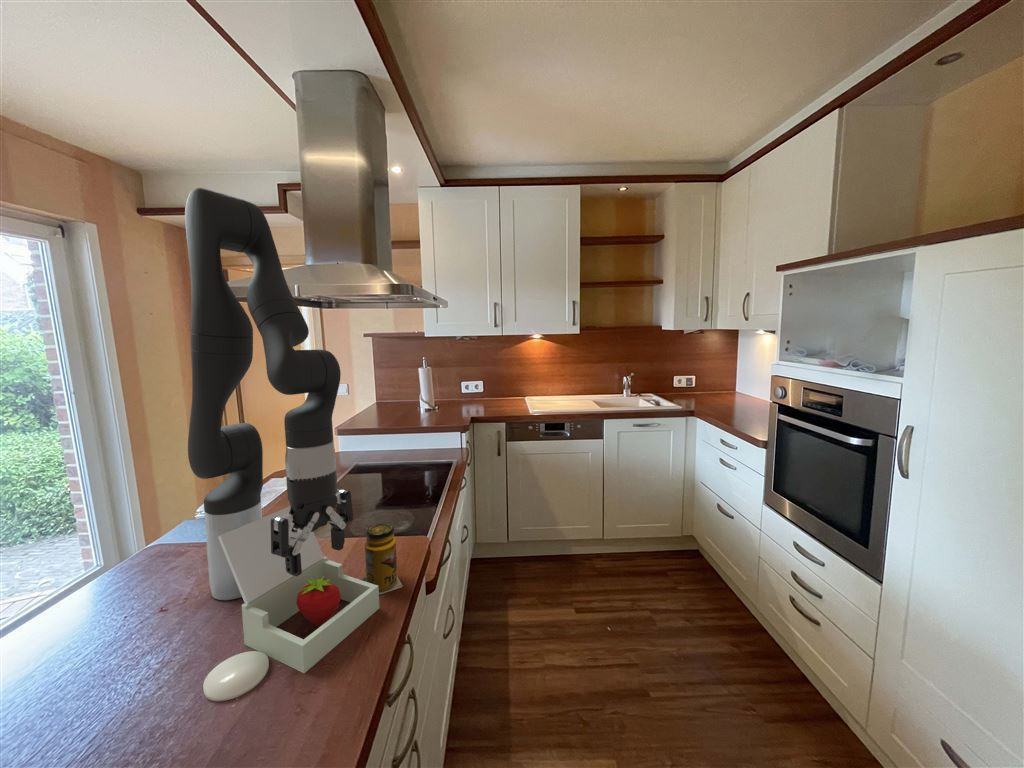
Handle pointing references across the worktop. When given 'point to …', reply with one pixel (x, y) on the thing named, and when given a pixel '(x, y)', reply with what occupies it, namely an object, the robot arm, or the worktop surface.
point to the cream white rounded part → (236, 676)
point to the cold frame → (290, 594)
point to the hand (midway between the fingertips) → (317, 561)
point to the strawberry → (318, 601)
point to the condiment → (381, 558)
